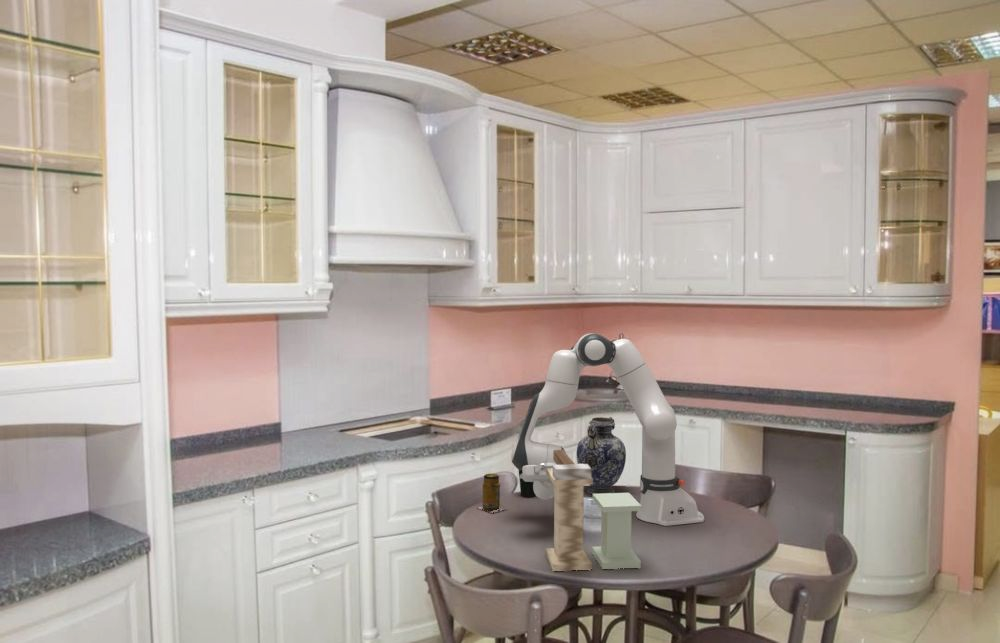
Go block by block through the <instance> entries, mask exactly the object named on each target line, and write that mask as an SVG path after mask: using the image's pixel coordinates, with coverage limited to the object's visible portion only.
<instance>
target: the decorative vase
mask: <svg viewBox="0 0 1000 643" xmlns="http://www.w3.org/2000/svg"><path fill="white" fill-rule="evenodd" d="M615 425H616V423H615V419H614V418H613V417H611V416H609V417H598V416H597V417H593V418H591V420H590V421H589V425H588V426H587V429H586V430H587V431H586V432H587V433H586V434H587V435H585V436H584V437H582V438H581V439H580V441H579V442H578V444H577V447H576V462H577V463H576V464H588V465H589V466H590V468H591V477H592V478H593V484H588V485H589V487H587V488H586V493H587V494H589V495H591V496H593V494H602V493H616V490H615V489H614V488H613V486H614V485H616V484H617V483H618V481H619V480H620V478H621V476H622V474H623V472H624V469H625V466H626V461H627V460H626V459H627V451H626V446H625V444H624V441H623V440H622V439H620V438H619V437H617V435H614V434H613V433H612V432H613V430H615V429H616V428H615V427H616V426H615Z"/></svg>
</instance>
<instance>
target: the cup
mask: <svg viewBox="0 0 1000 643" xmlns="http://www.w3.org/2000/svg"><path fill="white" fill-rule="evenodd" d="M521 474H523V472H522V470H519V469H518V476H519V490H520V491H519V492H520V497H522V498H527V499H529V498H532V499H533V498H535V497H537V496H536V495H535V493H534V490H533V483H534V482H526V481H524V480H523V479H521V478H520V475H521Z"/></svg>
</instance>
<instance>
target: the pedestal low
mask: <svg viewBox="0 0 1000 643" xmlns="http://www.w3.org/2000/svg"><path fill="white" fill-rule="evenodd" d="M592 500H593V501H594V503H595V504H596V505H597V507H598V508H599V509H600V511H601V514H600V515H601V519H600V520H601V525H600V528H601V529H600V530H601V532H600V535H601V536H600V539H601V540H600V545H599V546H591V555H592V556H593V555H594V556H593V557H594V559H595V558H596V559H595V561H596V560H597V561H598V562H597V561H596V562H597V564H598V563H599V564H600V565H599V564H598V565H599V567H600V566H601V567H602V568H601V567H600V568H601V570H602V569H614V570H621V569H620V568H623V569H622V570H625V569H624V568H638V569H641V568H642V566H641V565H642V564H641V563H642V561H641V560H640V558H639V557H638V556H637V554H635V552H634V551H633V550H632V512H637V511H642V506H641V505H640V504H639V503H640V502H639V501H637V499H636V498H634V496H633V495H632V494H631V493H630V492H615V493H602V494H593V495H592ZM618 568H619V569H618Z"/></svg>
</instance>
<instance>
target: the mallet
mask: <svg viewBox="0 0 1000 643" xmlns="http://www.w3.org/2000/svg"><path fill="white" fill-rule="evenodd" d="M564 450H565V449H564ZM564 450H553V460H554V461H555V463H556V464H557V465H553V477H554V478H555V480H577V479H591V468H590V466H589V465H588V464H578V463H576V462H574V461H573V460H572V459H571V458H570V456H569V455H568V454H567V452H566V451H565V452H566V453H565V452H564Z"/></svg>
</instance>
